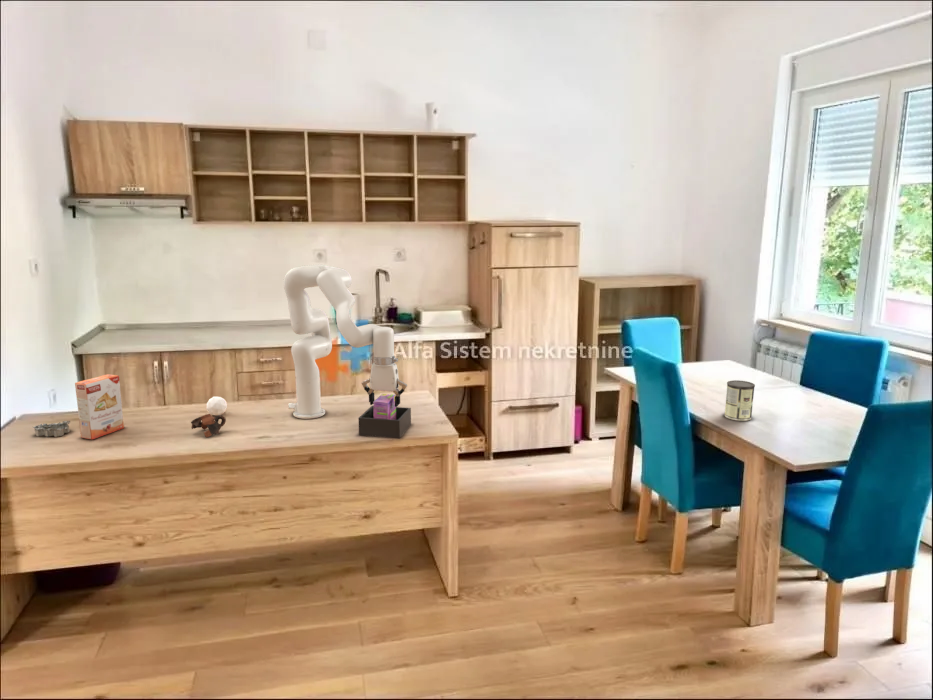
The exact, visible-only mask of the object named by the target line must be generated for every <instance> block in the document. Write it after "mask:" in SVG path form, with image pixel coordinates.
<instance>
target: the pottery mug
mask: <svg viewBox="0 0 933 700" xmlns="http://www.w3.org/2000/svg"><path fill="white" fill-rule="evenodd" d="M219 420H221V422H220V423H219ZM226 422H227V419H226V418H225V416H224V415H223V414H221V415H219V416H218V415H215V416H213V415H212V414H210V413H206V414H204V415H201V416H199V417H196V418H195V419H193V420H191V421H190V424H191V428H190V429H191V430H194V429H196V428H197V429H200V428H201V429H202V430H204V432H203V434H204V436H205V438H209V437H212V436H215V435H218V434H220V430H221V429H222V428H223V427H224V426H225V425H226Z"/></svg>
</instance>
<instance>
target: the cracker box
mask: <svg viewBox="0 0 933 700" xmlns="http://www.w3.org/2000/svg"><path fill="white" fill-rule="evenodd" d="M74 388H75V397H76V405H77V414H78V415H77V416H78V422H79V432H80V438H82V439H86V440H91V441H92V440H95V439H98V438H101V437H103V436H106V435H109V434H111V433H115V432H117V431H120V430H123V429H125V424H124V414H123V405H122V404H123V403H122V394H121V393H122V392H121V382H120V375H117V374H110V373H107V374H102V375H100V376H96V377H92V378H88V379H83V380H80V381H77V382H74Z"/></svg>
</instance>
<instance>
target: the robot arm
mask: <svg viewBox="0 0 933 700" xmlns="http://www.w3.org/2000/svg"><path fill="white" fill-rule="evenodd" d="M352 282H353V279H352V276H351V274H350V272H349V271H348V270H347V269H345V268H342V267H338V266H331V265H326V264H309V265H301V266H295V267H292V268H290V269H289V270H287V272H286V274H285V275H284V277H283V289H284V292H285V293H284V294H285V297H286V300H287V305H288V312H289V319H290V325H291V329H292V331H293V333H295V334H296V335H308V334H311V335H310V336H305V337H302V338H299V339H297V340H295V341H294V342H293V343H292V345H291V349H290V351H291V357H292V360H293V365H294V366H293V367H294V377H295V395H296V402H295V403H294V402H288V404H287V407H288V409H289V410H293V414H292V415H293V417H294V418H297V419H303V420H308V419H317V418H322V417H323V416H324V415H325V414H326V409H325V408H323V407H322V393H321V375H320V368H319V366H318V364H317V362H316V360H319V359H322V358H325V357H327V356H329V355H330V353H331V352H332V349H333V341H332V335H331V333H332V332H331V326H330V320H329V317H328V314H327V313H326V311H325V310H324V309H322V308H320V307H312V303H311V298H310V296H309V294H308V293H307V291H306V290H305V289H308V288H315V287H318V288H319V289H320V291H321V292H322V293H323V295H324V297H325V298H326V299H327V300H328V302H329V303H330V304H331V306H332V308H333V309H334V311H335V321H336V327H337V329H338V331H339V333H340V334H341V336H342V337H343V338H344V341H346V342H347V343H348V344H349V346H351V347H353V348H355V349H356V348H357V349H358V348H363V347H366V346H370V345H372V346H373V347H372V348H373V363H372V364H371V368H370V369H371V370H370V376H369V378H368V379H365V380H363V381H362V382H361V386H362V387H363V389H364V392H366V393H367V395H368V403H369V405H370V406H373V402H374V401H375V393H374V391H376V392H377V391H379V392H380V391H381V392H392V393H393V394H394V395H396V396H395V407H399V406H400V405H401V395H402V394H403V393H405V391H406V389H407V387H408V384H407V383H406V382H404V381H402V380H400V378H399V377H400V376H399V369H398V365H397V363H398V361H399V358H398V357H396V356H395V331H394V329H393V328H392V327H390V326H381V325H378V324H375V323H368V324H363V325H358V326H357V325H356V323H355V322H354V321H353V318H352V317H351V313H350V311H351V309H352V308H353V306H354V305H355V303H356V298H355V296H354V295H353V293H352V292H351V291H350V290H349V288H350V287H351V286H352ZM368 384H369V386H368ZM400 386H401V389H399V388H400Z"/></svg>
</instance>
